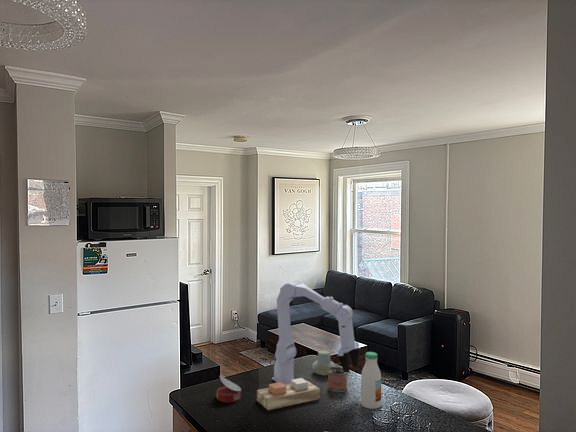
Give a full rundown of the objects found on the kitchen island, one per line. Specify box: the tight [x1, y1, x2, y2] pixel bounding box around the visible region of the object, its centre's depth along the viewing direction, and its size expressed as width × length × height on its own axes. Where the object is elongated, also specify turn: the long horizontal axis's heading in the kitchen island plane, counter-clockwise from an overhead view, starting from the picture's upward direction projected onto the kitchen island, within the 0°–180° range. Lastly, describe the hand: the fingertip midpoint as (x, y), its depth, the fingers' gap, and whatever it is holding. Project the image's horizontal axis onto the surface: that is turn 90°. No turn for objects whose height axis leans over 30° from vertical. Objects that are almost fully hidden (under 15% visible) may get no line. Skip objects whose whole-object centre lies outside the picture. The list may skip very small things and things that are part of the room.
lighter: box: [327, 365, 348, 393], centre depth 178 cm, size 8×3×10 cm, turn 84°
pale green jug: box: [311, 349, 337, 377], centre depth 198 cm, size 11×8×10 cm
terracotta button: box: [268, 382, 286, 396], centre depth 165 cm, size 5×5×3 cm
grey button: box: [291, 377, 309, 391], centre depth 170 cm, size 5×5×3 cm
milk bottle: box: [360, 351, 382, 410], centre depth 164 cm, size 8×8×20 cm
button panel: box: [256, 379, 321, 411], centre depth 168 cm, size 10×23×4 cm, turn 119°
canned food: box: [216, 374, 242, 403], centre depth 169 cm, size 11×10×10 cm
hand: (351, 369), depth 173 cm, fingers open, 7 cm apart
